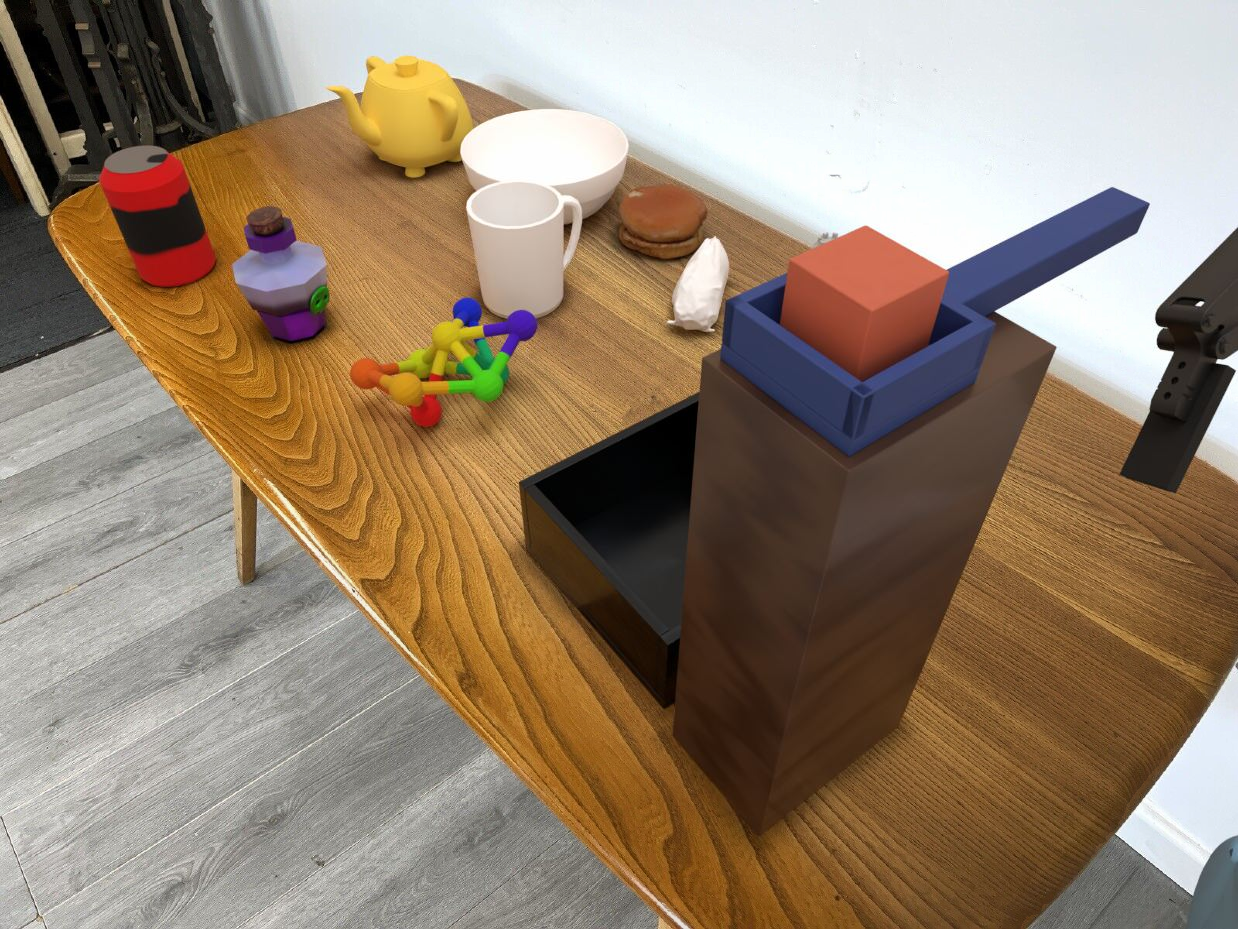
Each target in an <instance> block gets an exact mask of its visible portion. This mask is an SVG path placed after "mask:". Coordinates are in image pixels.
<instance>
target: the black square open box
mask: <svg viewBox="0 0 1238 929" xmlns="http://www.w3.org/2000/svg"><path fill="white" fill-rule="evenodd" d="M699 392H700V391H698V392H696V393H694V394H692V395H689V396H688V397H686V398H683V399H681V400H679V401H678V402H675V403H674V404H672V405H670V406H667V407H666V408H664V409H662V410H660V411H658V412H656V413H654V414H651V415H650V416H648V417H646V418H644V419H642V420H640V421H638V422H636V423H634V424H631V425H629V426H628V427H626V428H624V429H622V430H620V431H618V432H616V433H613V434H612V435H610V436H608V437H606V438H604V439H602V440H600V441H598V442H596V443H594V444H592V445H589V446H588V447H586V448H584V449H581V450H579V451H578V452H576V453H574V454H572V455H569V456H568V457H566V458H564V459H562V460H560V461H557V462H555V463H554V464H551V465H549V466H548V467H545V468H544V469H541V470H540V471H538V472H535V473H534V474H531V475H530V476H527V477H525V478H523V479H522V480H520V481H518V489H519V499H520V508H521V517H522V525H523V533H524V543H525V550H526V552H527V553H528V555H530V556H531V558H532V559H533V560H534V561H535V562H536V563H537V565H538V566H539V567H540V568H541V569H542V570H543V571H544V572H545V574H546V575H547V576H548V578H550V580H551V581H552V582H553V583H554V584H555V585H556V586H557V588H558V589H560V591H561V592H562V593H563V595H564V596H565V597H566V598H567V599H568V601H569V602H570V603H571V604H572V605H573V606H574V608H576V610H577V611H578V612H579V613H580V614H581V616H582V617H583V618H584V619H585V620H586V621H587V623H588V624H589V625H590V626H591V627H592V628H593V629H594V631H595V632H596V633H597V634H598V635H599V636H600V638H602V640H603V641H604V642H605V644H606V645H608V647H609V648H610V649H611V651H612V652H614V654H615V655H616V656H617V657H618V659H619V660H620V661H621V662H622V663H623V664H624V666H626V668H627V669H628V670H629V671H630V672H631V674H632V675H633V676H634V677H635V678H636V679H637V680H638V681H639V683H640V684H641V685H642V686H643V688H645V690H646V691H647V692H648V693H649V694H650V696H651V697H652V698H653V699H654V700H655V701H656V703H658V704H659V706H660V707H661V709H662V710H664V711H665V710H666V709H668V708H669V707H670V706H672V705H673V704H674V705H675V697H676V685H677V672H678V659H679V646H680V634H681V621H682V608H683V596H684V583H685V570H686V557H687V545H688V532H689V519H690V506H691V494H692V481H693V468H694V455H695V443H696V430H697V417H698V404H699Z"/></svg>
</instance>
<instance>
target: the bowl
mask: <svg viewBox="0 0 1238 929" xmlns="http://www.w3.org/2000/svg"><path fill="white" fill-rule="evenodd" d="M629 151H630V144H629V139H628V137H627V135H626V134H625V132H624V131H623V129H621V128H620V127H619V126H618V125H616V124H615V123H613V122H611V121H610V120H608V119H606V118H603V117H600V116H598V115H595V114H592V113H588V112H584V111H579V110H573V109H572V110H571V109H561V108H535V109H526V110H520V111H515V112H510V113H506V114H502V115H499V116H497V117H493V118H490V119H488V120H487V121H483V122H482V123H480V124H479V125H477V126H475V127H473V130H471V131H470V132H469V133H468V134H467V135H466V136H465V138H464V140H463V142H462V143H461V150H460V155H461V158H462V160H461V161H462V163H463V164H462V165H463V167H464V170H465V172H466V176H467V179H468V181H469V183H470V185H471V186H472V188H473V189H474V190H475V192H476V191H477V190H479V189H481V188H483V187H485V186H487V185H490V184H494V183H497V182H502V181H509V180H527V181H536V182H539V183H543V184H546V185H548V186H550V187H552V188H554V189H556V190H557V191H558V192H559V193H560V194H561V196H563V195H567V196H572V197H573V198H575V199H577V200H578V201H579V204H580V206H581V208H582V220H584V219H587V218H589V217H590V216H593V215H594V214H596V213H597V212H598V211H599V210H601V209H602V208H603V206H604V205H605V204H606V203H607V202H608V201H609V200H610V199H611V198H612V196H613V195H614V193H615V191H616V189H617V186H618V185H619V183H620V182H621V180H623V178H624V174H625V169H626V165H627V160H628V155H629ZM568 224H573V210H572V207H570V206H569V205H564V218H563V225H568Z"/></svg>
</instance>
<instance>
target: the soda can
mask: <svg viewBox="0 0 1238 929" xmlns="http://www.w3.org/2000/svg"><path fill="white" fill-rule="evenodd" d="M98 181H99V184H100V187H101V190H102V191H103V193H104V195H105V199H106V201H107V203H108V206H109V208H110V210H111V212H112V215H113V217H114V219H115V222H116V224H117V226H118V229H119V232H120V233H121V236H122V238H123V240H124V243H125V245H126V247H127V249H128V252H129V255H130V256H131V258H132V261H133V264H134V266H135V268H136V271H137V273H138V275H139V278H141V279H142V280H143V281H145V282H147V283H148V284H150V285H152V286H155V287H161V288H172V287H180V286H185V285H189V284H192V283H194V282H197V281H199V280H200V279H203V278H204V277H206V275H208V274H209V273H210V272H211V271H212V269H213V268H214V266H215V263H216V260H217V258H216V254H215V251H214V248H213V245H212V243H211V240H210V236H209V233H208V231H207V228H206V226H205V225H206V224H205V223H204V220H203V217H202V214H201V211H200V209H199V206H198V203H197V201H196V197H195V195H194V192H193V189H192V186H191V183H190V181H189V178H188V175H187V172H186V169H185V167H184V164H183V162H182V160H180V159H178V158H177V157H176V156H174V155H173V154H171V153H169V152H168V151H167V150H166V149H165V148H163V147H160V146H157V145H137V146H136V145H135V146H131V147H126V148H124V149H123V148H122V149H121V150H118V151H116V152H114V153H112V154H110V155H109V156H108V157H107V158H106V159H105V161H104V162H103V168H102V170H101V173H100V175H99V178H98Z"/></svg>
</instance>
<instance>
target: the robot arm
mask: <svg viewBox="0 0 1238 929" xmlns="http://www.w3.org/2000/svg"><path fill="white" fill-rule="evenodd" d="M1200 302H1202V305H1198V304H1199V303H1200ZM1154 321H1155V324H1156V325H1157V327H1160V328H1161V329H1160V331H1159V332H1158V333H1157V335H1156V336H1157V337H1156V346H1157V349H1159V350H1160V351H1166V352H1172V355H1171V358H1170V360H1169V362H1168V364H1167V366H1166V368H1165V370H1164V372H1163V374H1162V377H1161V378H1160V381H1159V383H1158V385H1157V386H1156V389H1155V391H1154V392H1153V395H1152V397H1151V400H1150V404H1149V408H1148V414H1147V416H1146V418H1145V419H1144V422H1143V423H1142V426H1141V428H1140V430H1139V433H1138V434H1137V437H1136V439H1135V441H1134V443H1133V444H1132V447H1131V449H1130V451H1129V453H1128V455H1127V457H1126V460H1125V461H1124V463H1123V465H1122V468H1121V469H1120V472H1119V474H1118V476H1119V475H1120V476H1122V477H1123V478H1126V479H1128V480H1130V481H1134V482H1137V483H1140V484H1144V485H1146V486H1150V487H1153V488H1156V489H1158V490H1159V489H1160V490H1162V491H1165V492H1169V493H1172V494H1175V495H1177V493H1178V491H1179V488H1180V486H1181V484H1182V482H1183V480H1184V478H1185V476H1186V474H1187V472H1188V470H1189V468H1190V465H1191V464H1192V462H1193V459H1194V458H1195V456H1196V453H1197V452H1198V450H1199V447H1200V445H1201V443H1202V441H1203V439H1204V438H1205V435H1206V433H1207V431H1208V430H1209V428H1210V425H1211V424H1212V421H1213V419H1214V417H1215V415H1216V413H1217V411H1218V409H1219V407H1220V405H1221V403H1222V400H1223V399H1224V397H1225V394H1226V393H1227V391H1228V389H1229V387H1230V384H1231V382H1232V380H1233V378H1234V376H1235V374H1236V372H1237V370H1236V369H1235V368H1233V367H1231V366H1230V365H1228V364H1223V363H1218V362H1217V361H1218V360H1221V361H1223V360H1226V359H1228V358H1229V357H1231V356H1233V355H1234V354H1235V353H1236V352H1238V226H1237V227H1236V228H1235V229H1234V230H1233V231H1232V232H1231V233H1230V234H1229V235H1228V236H1227V237H1226V238H1225V239H1224V240H1223V241H1222V242H1221V243H1220V244H1219V246H1217V247H1216V248H1215V249H1214V250H1213V252H1211V253H1210V254H1209V255H1208V256H1207V257H1206V259H1204V261H1203V262H1201V263H1200V264H1199V265H1198V266H1197V267H1196V268H1195V270H1194V271H1192V272H1191V274H1189V276H1188V277H1186V278H1185V280H1183V281H1182V283H1181V284H1180V285H1179V286H1178V287H1176V288H1175V290H1173V292H1172V293H1171V294H1170V295H1169V296H1168V297H1167V298H1166V299H1165V300H1164V301H1163V302H1162V303H1161V304H1160V305H1159V306H1158V307H1157V309H1156V311H1155V314H1154ZM1185 929H1238V834H1236V835H1233V836H1231V837H1228V838H1227V839H1225V840H1223V841H1222V842H1221V843H1220V844H1219V845H1217V847H1216V848H1214V850H1213V851H1212V853H1211V854H1210V855H1209V857H1208V859H1207V861H1206V862H1205V864H1204V865H1203V868H1202V869H1201V872H1200V874H1199V877H1198V879H1197V883H1196V885H1195V888H1194V891H1193V894H1192V898H1191V901H1190V905H1189V910H1188V914H1187V919H1186V924H1185Z"/></svg>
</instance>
